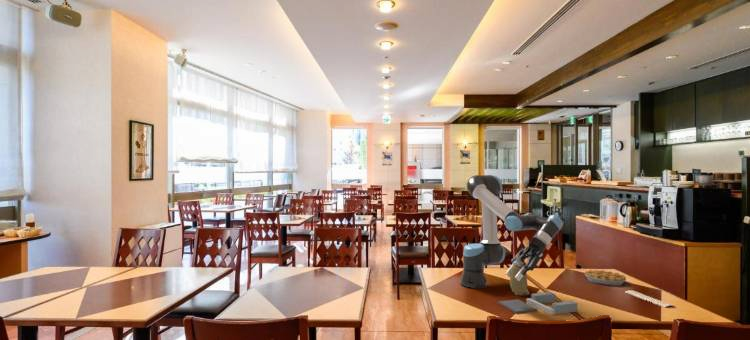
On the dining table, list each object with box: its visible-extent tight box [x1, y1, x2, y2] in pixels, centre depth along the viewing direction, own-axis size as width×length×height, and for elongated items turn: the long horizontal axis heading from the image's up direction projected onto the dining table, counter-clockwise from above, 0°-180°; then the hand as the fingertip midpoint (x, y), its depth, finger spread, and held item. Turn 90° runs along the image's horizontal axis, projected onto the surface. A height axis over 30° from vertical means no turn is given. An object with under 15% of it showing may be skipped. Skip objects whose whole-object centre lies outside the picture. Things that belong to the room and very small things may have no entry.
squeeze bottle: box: [509, 255, 528, 294], centre depth 177 cm, size 8×8×18 cm
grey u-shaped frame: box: [525, 291, 578, 316], centre depth 179 cm, size 17×15×4 cm
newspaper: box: [624, 289, 676, 308], centre depth 190 cm, size 24×7×2 cm, turn 8°
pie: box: [584, 269, 627, 286], centre depth 224 cm, size 22×22×5 cm
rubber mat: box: [497, 298, 539, 315], centre depth 178 cm, size 14×12×1 cm
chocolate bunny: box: [514, 288, 530, 297], centre depth 198 cm, size 6×8×10 cm
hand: (512, 277), depth 176 cm, fingers closed on squeeze bottle, 6 cm apart
